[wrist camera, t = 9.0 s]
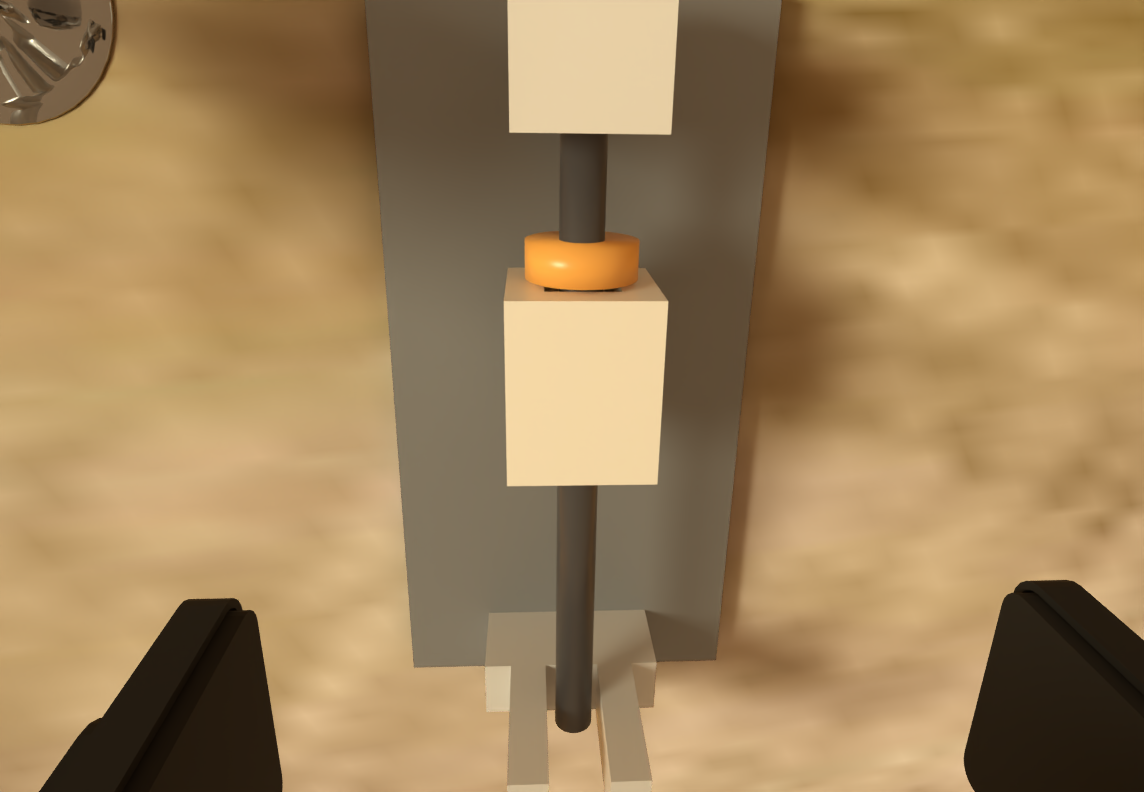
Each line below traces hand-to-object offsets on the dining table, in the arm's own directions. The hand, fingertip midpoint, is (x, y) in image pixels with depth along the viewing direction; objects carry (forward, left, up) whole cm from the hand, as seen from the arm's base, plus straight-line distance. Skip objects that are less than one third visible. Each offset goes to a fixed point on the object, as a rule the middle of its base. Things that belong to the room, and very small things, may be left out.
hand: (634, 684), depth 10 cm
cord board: (-2, 0, -18) cm, 18 cm away
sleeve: (0, 0, -15) cm, 15 cm away
